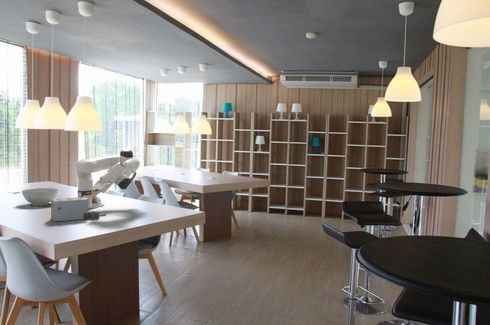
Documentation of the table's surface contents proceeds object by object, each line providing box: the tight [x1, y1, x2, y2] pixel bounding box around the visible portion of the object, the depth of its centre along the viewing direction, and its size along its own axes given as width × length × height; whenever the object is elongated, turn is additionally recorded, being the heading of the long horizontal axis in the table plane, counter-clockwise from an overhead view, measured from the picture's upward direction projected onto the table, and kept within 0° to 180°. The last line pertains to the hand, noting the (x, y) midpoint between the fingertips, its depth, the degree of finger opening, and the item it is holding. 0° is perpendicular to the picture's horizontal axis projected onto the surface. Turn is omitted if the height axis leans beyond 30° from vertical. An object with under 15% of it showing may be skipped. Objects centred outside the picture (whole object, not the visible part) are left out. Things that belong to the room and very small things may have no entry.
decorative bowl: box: [21, 187, 59, 207], centre depth 322 cm, size 27×27×12 cm
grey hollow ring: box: [83, 210, 100, 220], centre depth 273 cm, size 10×7×4 cm, turn 126°
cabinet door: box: [53, 199, 89, 222], centre depth 265 cm, size 22×3×14 cm, turn 126°
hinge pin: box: [92, 188, 97, 203], centre depth 273 cm, size 3×3×10 cm
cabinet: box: [50, 196, 87, 222], centre depth 270 cm, size 22×10×14 cm, turn 126°
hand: (93, 195), depth 273 cm, fingers closed on hinge pin, 3 cm apart
